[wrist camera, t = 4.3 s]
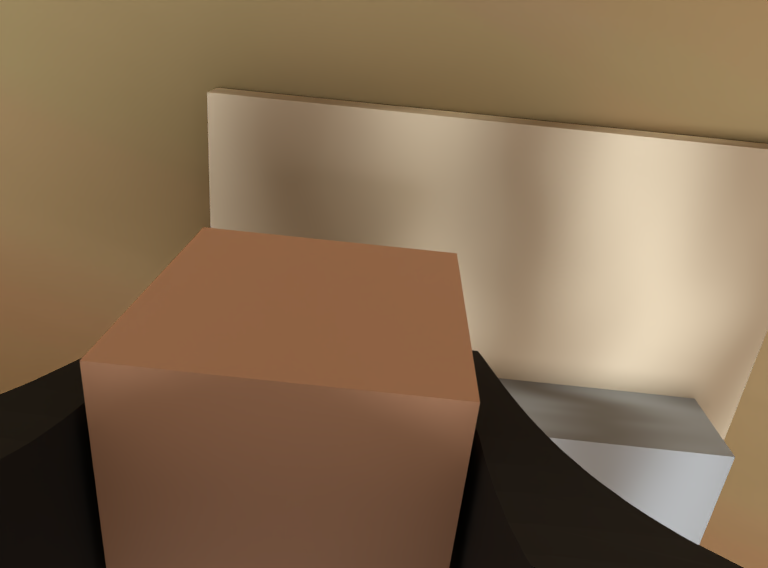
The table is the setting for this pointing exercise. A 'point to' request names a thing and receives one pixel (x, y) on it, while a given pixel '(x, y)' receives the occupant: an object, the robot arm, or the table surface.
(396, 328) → the block
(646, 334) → the base board
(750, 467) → the table surface
